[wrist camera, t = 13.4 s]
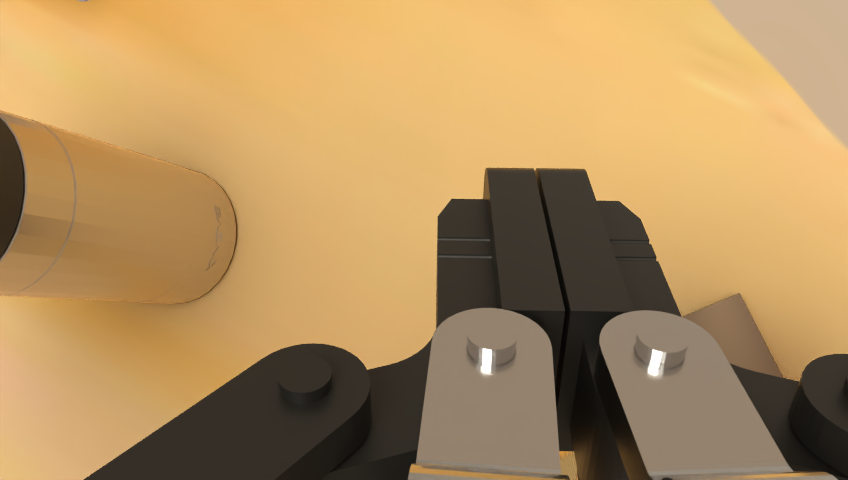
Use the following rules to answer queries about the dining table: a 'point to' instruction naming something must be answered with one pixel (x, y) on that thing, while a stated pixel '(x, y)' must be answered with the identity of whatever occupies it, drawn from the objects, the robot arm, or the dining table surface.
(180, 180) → the robot arm
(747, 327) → the base board
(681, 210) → the dining table surface
